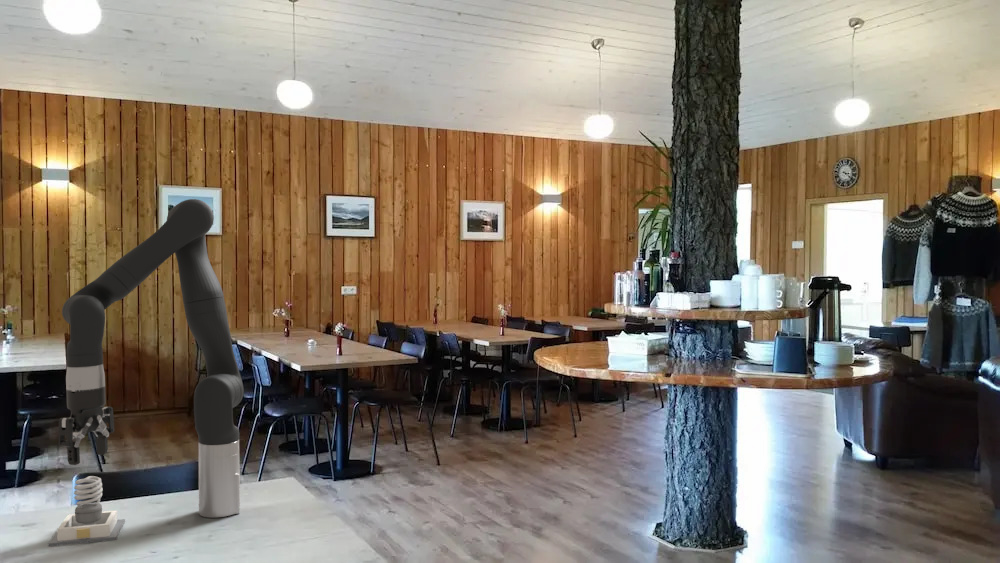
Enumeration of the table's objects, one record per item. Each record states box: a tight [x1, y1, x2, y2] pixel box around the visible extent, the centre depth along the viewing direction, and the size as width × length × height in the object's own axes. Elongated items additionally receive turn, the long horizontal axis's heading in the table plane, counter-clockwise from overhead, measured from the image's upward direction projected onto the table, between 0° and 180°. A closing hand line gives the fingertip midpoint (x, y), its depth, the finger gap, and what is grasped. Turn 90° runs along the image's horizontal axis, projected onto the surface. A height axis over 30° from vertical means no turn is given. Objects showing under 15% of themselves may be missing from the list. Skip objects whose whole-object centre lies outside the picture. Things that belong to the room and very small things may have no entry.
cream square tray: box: [56, 510, 118, 541], centre depth 170 cm, size 10×10×2 cm
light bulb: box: [73, 475, 104, 526], centre depth 170 cm, size 6×6×12 cm
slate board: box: [47, 518, 126, 547], centre depth 170 cm, size 13×12×1 cm
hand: (88, 459), depth 169 cm, fingers open, 8 cm apart
